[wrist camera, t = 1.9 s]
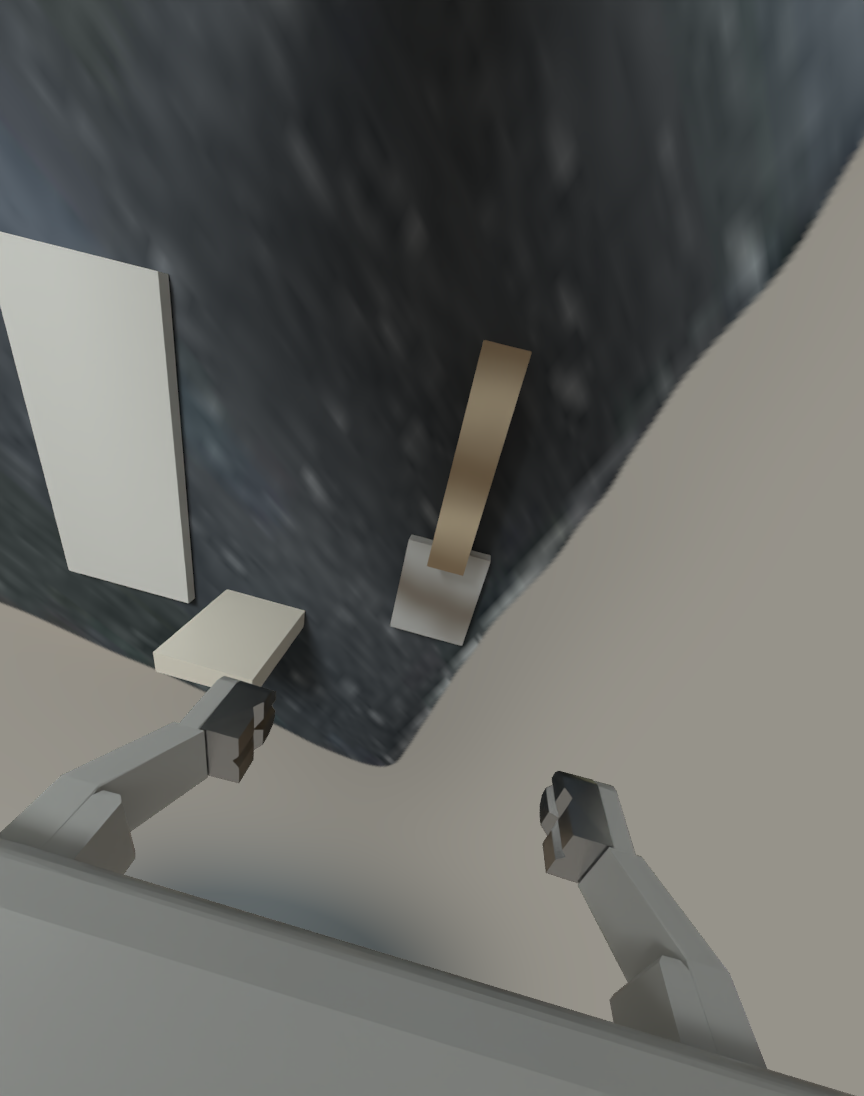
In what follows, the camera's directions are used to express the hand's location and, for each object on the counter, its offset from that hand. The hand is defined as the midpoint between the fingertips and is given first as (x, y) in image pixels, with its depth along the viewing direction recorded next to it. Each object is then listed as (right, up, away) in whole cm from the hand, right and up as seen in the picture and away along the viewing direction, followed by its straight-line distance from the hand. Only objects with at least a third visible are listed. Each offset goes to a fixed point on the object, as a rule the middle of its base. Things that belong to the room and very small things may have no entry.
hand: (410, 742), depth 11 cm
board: (-23, +13, +17) cm, 32 cm away
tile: (-14, 0, +22) cm, 26 cm away
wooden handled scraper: (+3, +8, +16) cm, 18 cm away
